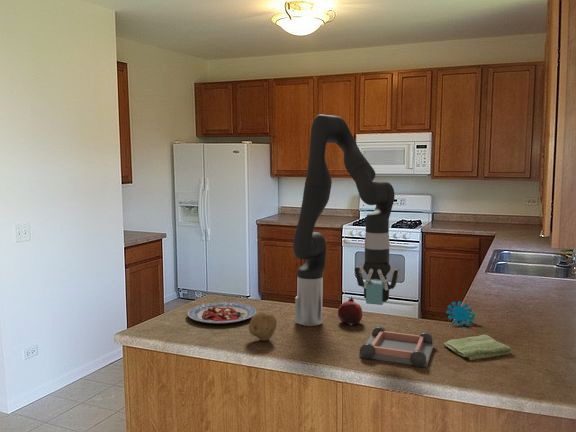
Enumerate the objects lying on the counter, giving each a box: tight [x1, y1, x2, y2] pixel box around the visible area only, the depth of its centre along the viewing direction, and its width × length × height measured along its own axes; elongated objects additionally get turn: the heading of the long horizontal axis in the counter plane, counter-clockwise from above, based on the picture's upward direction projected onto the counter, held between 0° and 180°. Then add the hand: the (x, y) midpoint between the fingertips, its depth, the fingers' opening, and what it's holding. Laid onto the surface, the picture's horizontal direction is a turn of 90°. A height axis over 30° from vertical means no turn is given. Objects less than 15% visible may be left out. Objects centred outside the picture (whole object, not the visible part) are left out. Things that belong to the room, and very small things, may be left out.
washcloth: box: [442, 334, 513, 361], centre depth 164 cm, size 13×18×3 cm
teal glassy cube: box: [365, 279, 385, 306], centre depth 162 cm, size 5×6×6 cm
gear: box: [446, 300, 478, 327], centre depth 192 cm, size 11×6×10 cm
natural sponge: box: [248, 310, 278, 342], centre depth 171 cm, size 9×9×10 cm
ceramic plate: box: [187, 301, 257, 325], centre depth 197 cm, size 26×26×3 cm
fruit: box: [337, 295, 363, 327], centre depth 189 cm, size 9×10×10 cm
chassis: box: [358, 325, 434, 368], centre depth 162 cm, size 20×19×4 cm
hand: (376, 300), depth 162 cm, fingers closed on teal glassy cube, 5 cm apart
